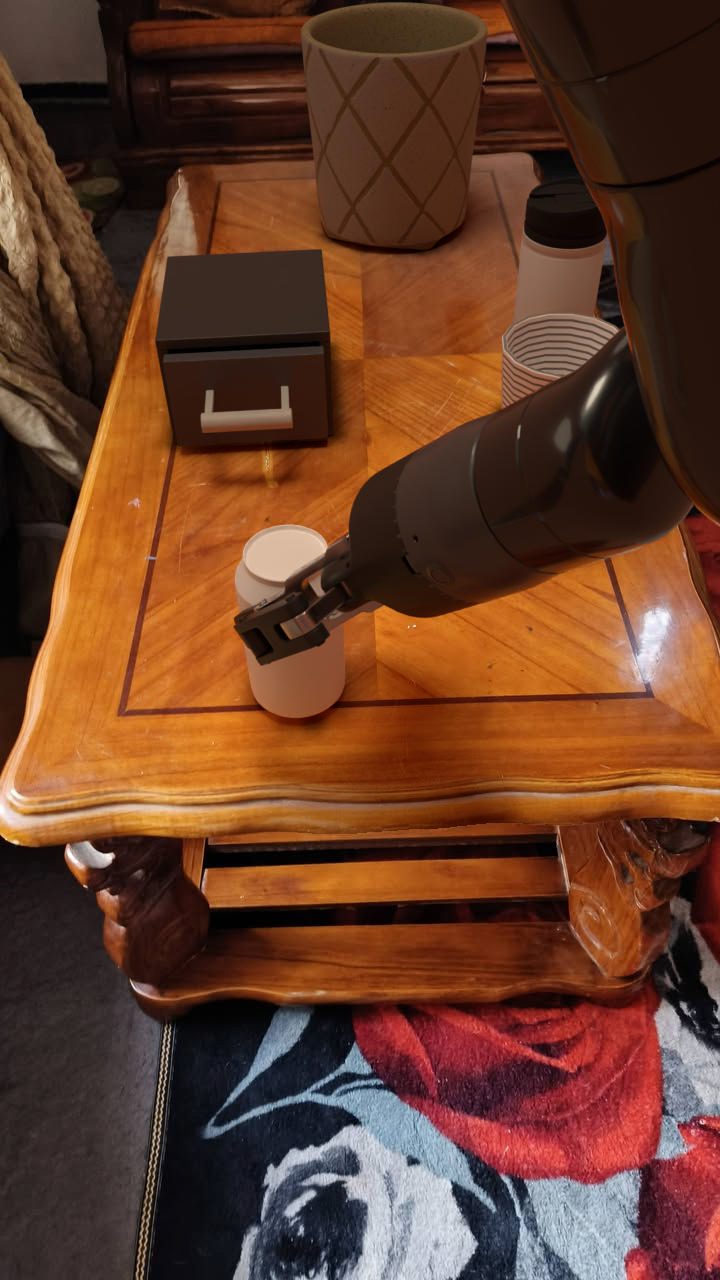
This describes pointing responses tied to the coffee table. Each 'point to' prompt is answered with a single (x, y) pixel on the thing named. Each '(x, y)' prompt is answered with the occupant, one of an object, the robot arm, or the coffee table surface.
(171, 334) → the single drawer box
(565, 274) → the travel mug
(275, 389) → the pull-out drawer
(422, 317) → the coffee table surface
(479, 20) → the planter
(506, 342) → the cup
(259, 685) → the beverage can
